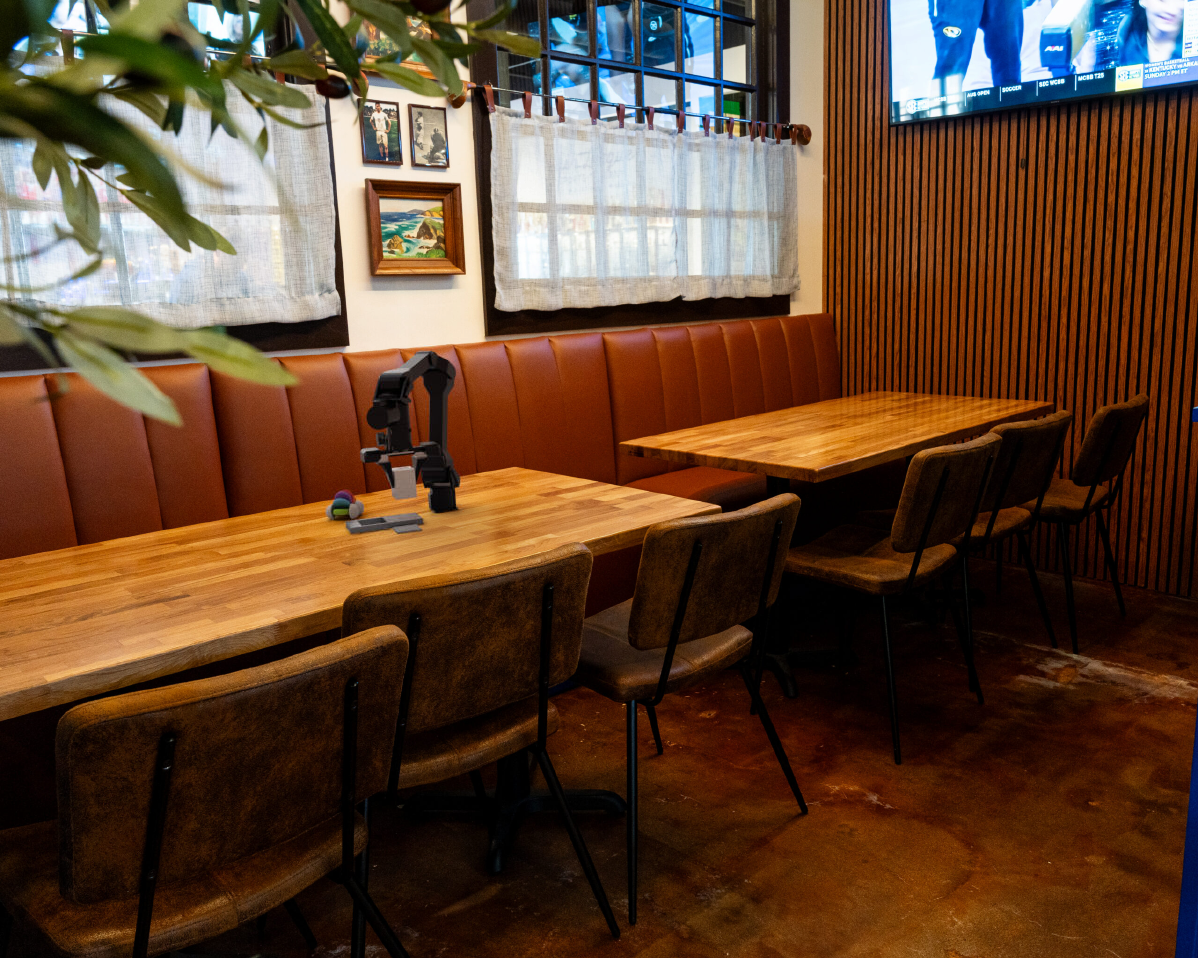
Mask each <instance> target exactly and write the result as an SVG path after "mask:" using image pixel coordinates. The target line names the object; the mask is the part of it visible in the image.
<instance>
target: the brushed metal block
mask: <svg viewBox="0 0 1198 958" xmlns="http://www.w3.org/2000/svg"><path fill="white" fill-rule="evenodd" d="M392 473H393V479H394V488H392V487H391V486H390V487H391V496H392V497H393V498H394V500H396V501H399V500H406V499H407V500H408V499H414V498H418V495H417V494H418V492H417V482H416V479H415V469H414V468H413V466H410V465H408V466H407V465H406V466H400V467H392Z"/></svg>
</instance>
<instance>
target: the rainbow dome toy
mask: <svg viewBox="0 0 1198 958" xmlns="http://www.w3.org/2000/svg"><path fill="white" fill-rule="evenodd" d="M364 511H365V505H364V503H363V502H362V501H361V500H357V498H356V496H355V495H354V494H353V493H352V492H351V490H349V489H343V490H341V491H338V492H337V493H336V494H335V495H334V500H333V501H332V503H331V504H328V506H327V507H326V508H325V514H326V517H327V518H328V519H330V520H335V519H336V517H337V516H338V517H339V516H346V515H349V517H350V519H351V520H355V519H356V518H357V517H358V516H360V515H362V514H363V513H364Z"/></svg>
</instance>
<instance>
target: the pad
mask: <svg viewBox="0 0 1198 958" xmlns="http://www.w3.org/2000/svg"><path fill="white" fill-rule="evenodd" d="M391 529H392V530H393V531H394V532H395V533H396V534H406V533H413V532H421V531H422V530H423V529H422V528H421V527H420V526H419V525H417V524H412V525H405V526H397V527H392V528H391Z"/></svg>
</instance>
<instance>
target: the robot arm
mask: <svg viewBox="0 0 1198 958" xmlns="http://www.w3.org/2000/svg"><path fill="white" fill-rule="evenodd" d="M456 376H457V370H456V367H455V366H454V365H453V363H451V361H450V360H449V359H447V358H444V357H443V356H440V355H439V354H438V353H437V352H436V351H433V350H420V351H419V350H418V351H416V352H415V353H414V355H413V356H412V357H411V358H409V359H408V360H407V361H406V362H405V363H403V364H402V365H401V366H399V367H397V368H395V369H390V370H389V369H388V370H386V371H384V372H381V373H380V374H379V377H378V379H377V382H376V387H375V390H374V393H373V398H372V406H371V407H370V408H369V409H368V410H367V413H366V417H365V418H366V422H367V424H368V426H369V427H370V428H371V429H372V430H376V431H381V430H384V429H386V432H384V431H381V432H376V433H375V440H376V445H377V447H365V448H362V449H361V450H360V453H359V454H360V461H362V462H363V463H364V464H373V463H375V464H376V465H378V466H381V468H382V470H383V471H384V473H385V476H386V478H387V480H388V482H389V485H390V487H392V488H394V479H393V473H392V468H393V467H392V462H391V461H390V460H389V458H393V457H401V456H402V457H403V456H411V461H412V468H414V469H415V479H416V483H417V482H418V479H419V475H420V477H421V481H422V483H423V484H422V485H423V488H424V489H429V492H428V493H427V498H428V508H429V509H430V510H431V511H432V512H433V513H436V514H437V513H443V512H444V513H445V512H449V511H450V512H451V511H458V510H459V507H457V499H456V498H457V497H456V488H460V486H461V477H460V475H459V472H457V470H456V468H455V466H454V459H453V457H452V456H451V454H450V453H449V451H448V422H449V421H448V417H449V415H448V413H449V412H448V411H449V408H448V407H449V406H448V404H449V395H450V393H451V392H452V390H453V388H454V387H455V379H456ZM420 377H421V378H422V381H423V382H422V383H423V387H424V388H425V390H426V392H427V394H428V395H429V397H428V398H429V401H428V403H429V404H428V405H429V407H428V409H429V410H428V411H429V412H428V414H429V415H428V441H423V442H420V443H419V446H413V439H412V426H411V415H410V404H411V403H412V399H411V398H410V397H409V396H410V394H411V392H412V390H413V389H414V388H415V386H414V382H415V381H416V380H417V379H419V378H420ZM385 433H386V434H385ZM378 447H384V449H383V450H380V449H379V448H378ZM392 488H391V489H392Z"/></svg>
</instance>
